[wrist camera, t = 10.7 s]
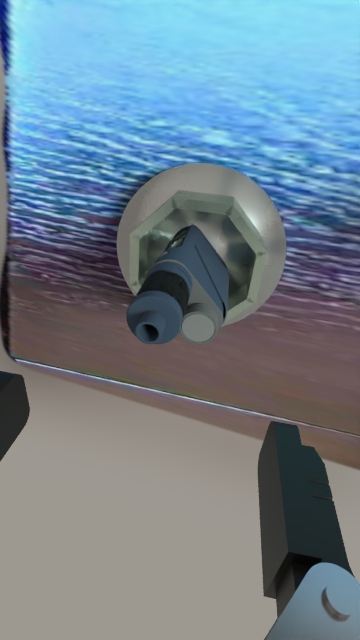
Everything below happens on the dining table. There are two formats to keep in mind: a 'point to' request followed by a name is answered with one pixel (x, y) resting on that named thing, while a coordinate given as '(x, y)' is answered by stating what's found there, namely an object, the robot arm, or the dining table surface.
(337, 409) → the dining table surface
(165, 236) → the ring seat
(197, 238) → the vaping device
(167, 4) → the dining table surface
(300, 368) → the dining table surface
